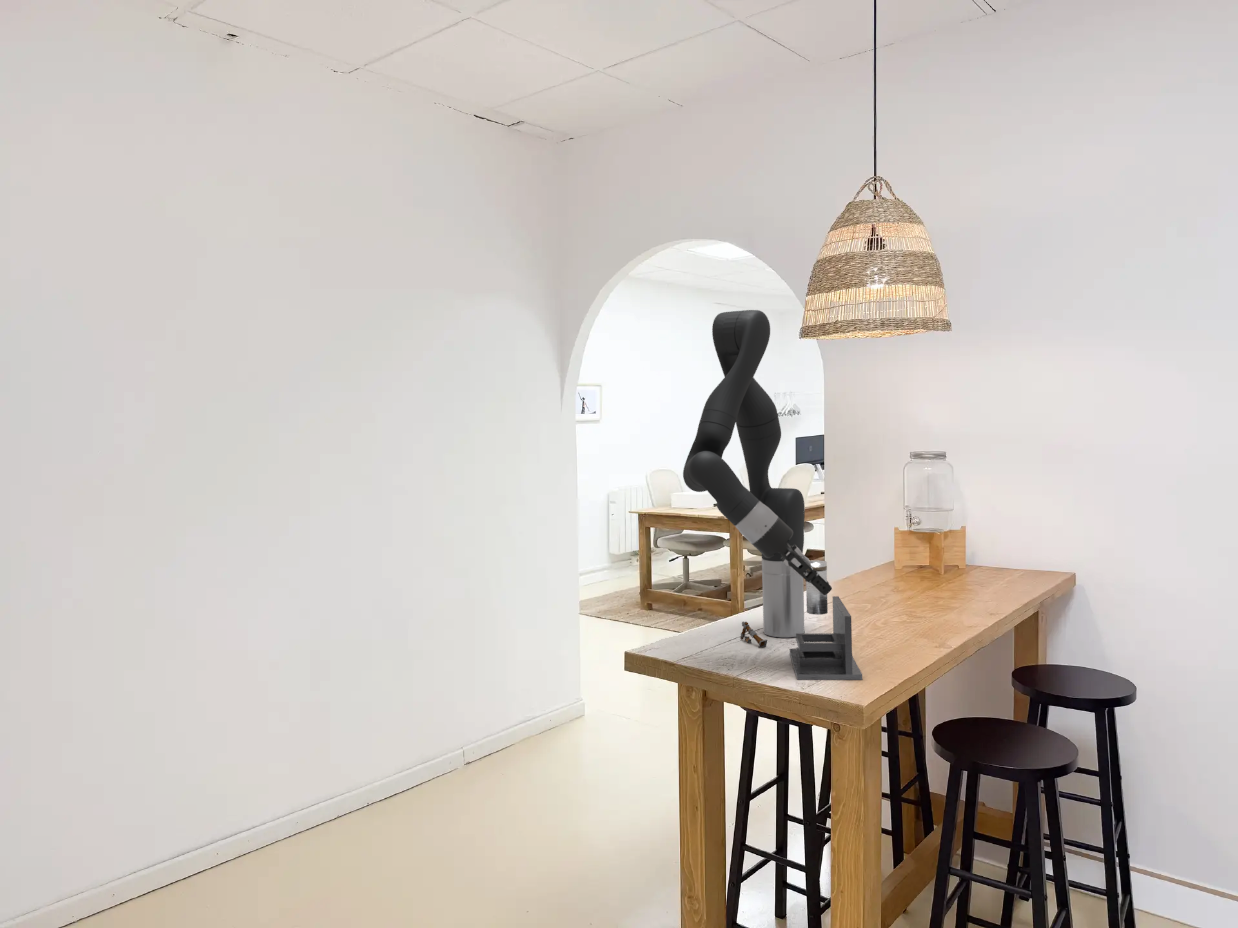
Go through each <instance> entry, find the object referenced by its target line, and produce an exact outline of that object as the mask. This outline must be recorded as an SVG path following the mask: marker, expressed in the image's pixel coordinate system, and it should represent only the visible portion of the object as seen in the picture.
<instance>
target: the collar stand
mask: <svg viewBox="0 0 1238 928" xmlns="http://www.w3.org/2000/svg"><path fill="white" fill-rule="evenodd" d="M832 631H833V632H832V633H829V632H828V633H827V632H826V633H825V632H824V633H823V632H822V633H814V632H813V633H800V634H796V637H795V641H796V645H797V647H796V648H789V656H790V659H791V663H792V667H793V670H794V673H795V677H796V680H798V681H799V680H800V681H802V680H803V681H805V680H808V681H809V680H810V681H811V680H812V681H813V680H815V681H818V680H819V681H821V680H822V681H825V680H826V681H863V673H862V671H861V670H860V668H859V666H858V664H857V662H856V660H855V659H854V656H853V639H852V637H853V636H852V635H853V633H852V615H851V613H850V612H849V610H848V609H847V607H846V606H845V605H844V603H843V601H842V600H841V598H840V597H839V595H836V596H834V595H833V596H832Z"/></svg>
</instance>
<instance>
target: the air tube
mask: <svg viewBox="0 0 1238 928" xmlns="http://www.w3.org/2000/svg"><path fill="white" fill-rule="evenodd" d="M809 561H810V562H811V567H812V568H813V569H814V570H816V571H817V572H818V574H819V575H820V576H821V577H822V578H823V579H824V580H825V581H826V582H827V581H828V565H827V563H828V562H827V561H826V560H819V559H817V560H814V559H813V560H812V559H811V560H809ZM810 572H811V570H809V569H807V570H806V576H807V575H808V574H809V573H810ZM805 586H806V588H805V589H806V590H805V593H806V594H805V595H806V613H807V614H809V615H816V616H817V615H818V616H819V615H826V614H828V610H829V609H828V607H829V605H828V594H827V595H823V594H822V593H821V592H820V591H819V590H818V589H817V588H816V587H815V586H814V585H813V584H811V583H809V582H806V581H805Z"/></svg>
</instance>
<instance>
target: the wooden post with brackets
mask: <svg viewBox="0 0 1238 928" xmlns="http://www.w3.org/2000/svg"><path fill="white" fill-rule="evenodd" d="M741 626H742V632H740V637H739V638H740V640H744V642H746V644H752V639H754V640H755V642H756V643H757V645H758V649H759V648H763V647H764V648H765V647H767V644H768V640H767V639H762V637H760V636H759V635H758V632H757V633H756V631H755V630H754V629H753V628H751V627H750V624H749V622H747V621H741ZM746 633H747V634H749V635H750V636H747V635H746ZM750 637H751V638H752V639H751V638H750Z"/></svg>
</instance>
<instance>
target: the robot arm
mask: <svg viewBox="0 0 1238 928" xmlns="http://www.w3.org/2000/svg"><path fill="white" fill-rule="evenodd" d="M711 330H712V332H711V333H712V334H711V335H712V336H711V337H712V342H713V345H714V349H715V352H716V355H717V358H718V361H719V365H720V368H721V371H722V373H723V376H724V377H723V379H722V380H721V381H720V382H719V383H718V384H717V386H716V387H715V388H714V389H713V390H712V392H711V393H710V394H709V395H708V398H707V400H706V401H705V403H704V405H703V409H702V412H701V416H700V420H699V423H698V424H697V425H698V426H697V431H696V435H695V438H694V441H693V443H692V445H691V447H690V449H689V452H688V455H687V458H686V460H685V464H684V467H683V471H682V476H683V482H684V484H685V486H687V488H688V489H689V490H692V491H693V492H696V493H703V492H707V493H708V494H709V495H710V496H711V497H712V498H713V500H715V501H716V508H717V510H718V512H720V514H722V516H723V517H725V518H726V519H727V520H728V521H729V522H730V523H731V524H732V525H733V526H734V527H735V528H736V530H738V532H739V533H740V534H741V535H742V536H743V537H744V538H745V539H746V540H747V541H748V542H749V543H750V544H751V545H753V547H754V548H755V549H756V550H757V551H759V553H760V554H761V575H762V576H761V578H762V579H761V580H762V615H763V616H762V617H763V619H762V620H763V621H762V622H763V623H762V624H763V635H767V636H768V637H774V638H796V634H800V633H805V599H804V596H805V593H804V589H805V588H804V581H805V583H806V582H809V583H811V584H813V585H814V586H815V587H816V588H817V589H818V590H819V591H820V592H821V593H822V594H823V595H827V596H828V594H829V593H830V592H831V591H832V590H833V588H832V586H831V585H830V582H829V581H828V580H827V582H826V581H825V580H824V579H823V578H822V577H821V576H820V575H819V574H818V572H817V571H816V570H814V569H813V568H812V567H811V562H810V561H811V560H810V559H809V558H808V557H807V556H806V555H805V554H804V545H805V512H806V510H805V509H806V508H805V499H804V496H803V494H802V492H801V490H799V489H797V488H793V487H792V488H791V487H789V488H788V487H783V488H782V487H781V488H780V487H771V485H770V480H769V469H770V465H771V462H772V461H773V457H774V456H775V454H776V451H777V449H778V448H779V445H780V441H781V439H782V428H781V424H780V423H781V422H780V420H779V413H778V410H777V407H776V405H775V402H774V401H773V400H772V398H771V396H770V395H769V394H768V393H767V392H766V391H765V389H764V388H763V386H761V385H760V383H759V382H758V381H757V380H756V379H755V377H754V376H755V374H756V372H757V370H758V368H759V365H760V364H761V361H762V359H763V357H764V355H765V352H766V350H767V347H768V345H769V342H770V338H771V337H770V336H771V323H770V320H769V317H768V316H767V315H766V313H764V312H763V311H762V310H758V309H746V310H745V309H744V310H743V309H742V310H734V311H733V310H732V311H724V312H720V313H718V314H717V315H716V316H715V317H714V319H713V323H712V329H711ZM735 425H736V431H737V433H738V438H739V443H740V446H741V449H742V454H743V457H744V462H745V463H744V464H745V467H746V472H747V473H746V474H747V479H748V486H749V489H747V487H745V486H744V485H743V482H741V480H740V479H739V477H738V476H737V475H736V473H735V472H734V471H733V469H732V467H731V466H730V465H729V464H728V463H727V462H726V461H725V460H724V458H723V456H724V452H725V450H726V448H727V446H728V445H729V444H730V441H731V439H732V436H733V433H734V428H735ZM807 569H809V570H811V572H810V573H809V574H808V575H807V576H806V570H807Z"/></svg>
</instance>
